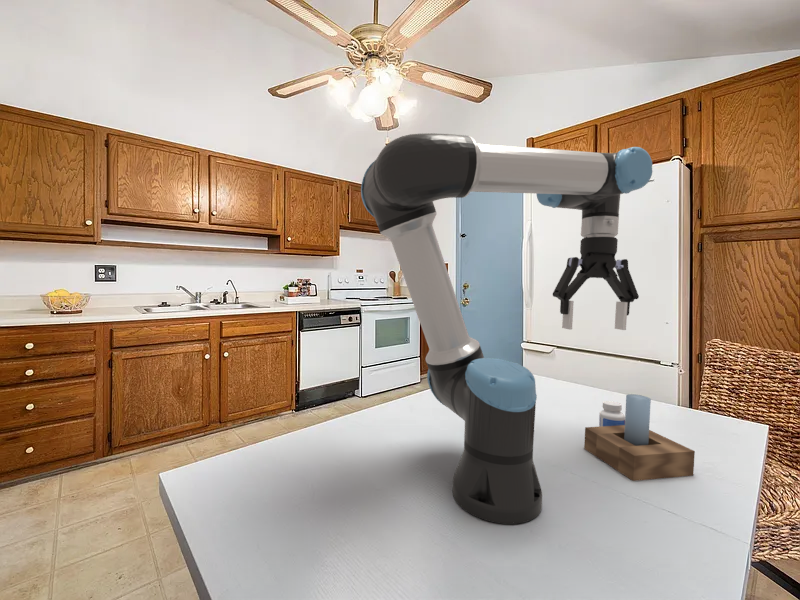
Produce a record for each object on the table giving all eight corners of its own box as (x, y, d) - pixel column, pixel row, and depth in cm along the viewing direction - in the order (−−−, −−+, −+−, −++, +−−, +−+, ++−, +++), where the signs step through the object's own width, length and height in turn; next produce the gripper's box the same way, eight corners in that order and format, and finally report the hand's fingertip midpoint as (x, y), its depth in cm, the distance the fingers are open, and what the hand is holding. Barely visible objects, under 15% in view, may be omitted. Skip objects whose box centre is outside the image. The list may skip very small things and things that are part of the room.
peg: (634, 467, 77) (637, 401, 76) (618, 457, 81) (621, 394, 81) (652, 465, 78) (656, 400, 77) (635, 455, 82) (638, 393, 81)
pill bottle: (630, 447, 87) (630, 406, 87) (609, 448, 86) (609, 406, 86) (613, 438, 93) (614, 399, 93) (594, 439, 92) (594, 400, 92)
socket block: (633, 480, 71) (634, 455, 71) (584, 448, 85) (585, 427, 85) (693, 475, 74) (694, 451, 74) (636, 444, 88) (637, 424, 88)
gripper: (558, 232, 80) (553, 330, 81) (660, 238, 83) (654, 331, 84) (540, 236, 87) (535, 326, 88) (634, 241, 91) (629, 327, 92)
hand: (593, 329), depth 86 cm, fingers open, 13 cm apart
